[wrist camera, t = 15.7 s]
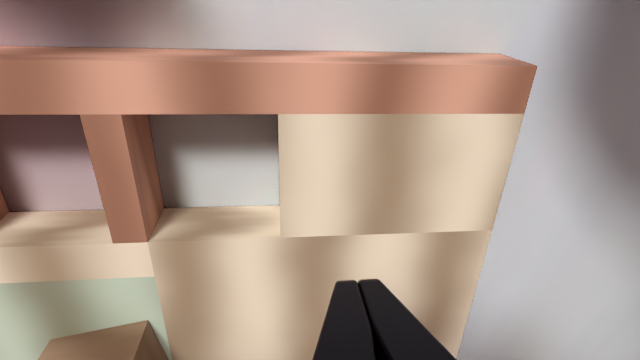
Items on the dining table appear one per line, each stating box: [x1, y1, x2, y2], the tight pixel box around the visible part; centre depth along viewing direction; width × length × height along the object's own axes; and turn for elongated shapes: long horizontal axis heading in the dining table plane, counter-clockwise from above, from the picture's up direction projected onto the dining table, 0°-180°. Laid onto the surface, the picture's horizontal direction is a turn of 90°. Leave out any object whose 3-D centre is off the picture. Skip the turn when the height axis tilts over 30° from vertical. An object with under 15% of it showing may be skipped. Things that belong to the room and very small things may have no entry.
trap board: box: [0, 46, 537, 360], centre depth 20 cm, size 25×20×3 cm
